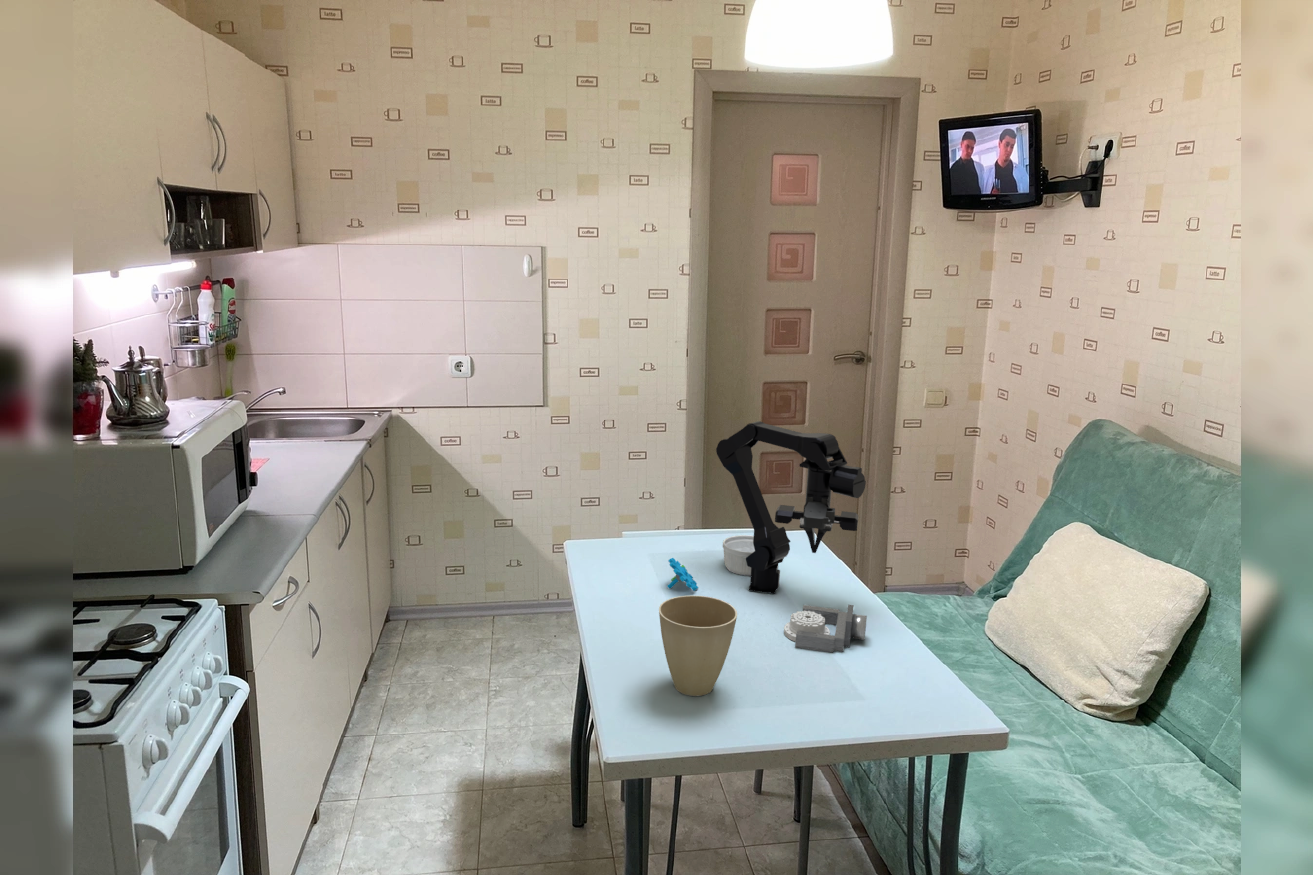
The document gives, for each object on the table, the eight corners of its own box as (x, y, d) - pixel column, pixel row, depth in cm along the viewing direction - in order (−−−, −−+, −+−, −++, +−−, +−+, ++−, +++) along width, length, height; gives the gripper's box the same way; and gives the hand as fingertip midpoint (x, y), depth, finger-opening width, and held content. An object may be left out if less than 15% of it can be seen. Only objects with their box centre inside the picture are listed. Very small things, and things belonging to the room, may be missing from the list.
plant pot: (729, 710, 169) (733, 631, 165) (649, 701, 172) (652, 622, 168) (736, 672, 183) (740, 598, 180) (662, 664, 186) (665, 591, 182)
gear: (699, 591, 218) (671, 561, 218) (681, 607, 219) (653, 577, 219) (700, 580, 229) (673, 550, 229) (683, 595, 230) (656, 566, 230)
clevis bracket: (795, 647, 195) (797, 621, 194) (802, 616, 210) (804, 592, 209) (863, 656, 192) (865, 630, 190) (865, 625, 207) (868, 600, 206)
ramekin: (712, 562, 242) (713, 537, 240) (755, 556, 247) (757, 532, 246) (737, 580, 230) (738, 554, 229) (782, 574, 236) (783, 548, 234)
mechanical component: (781, 642, 198) (828, 648, 196) (782, 623, 197) (829, 629, 195) (786, 623, 207) (830, 628, 205) (787, 605, 206) (832, 610, 204)
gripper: (774, 494, 205) (769, 559, 209) (858, 502, 201) (853, 569, 205) (780, 481, 216) (775, 543, 220) (860, 489, 212) (855, 552, 215)
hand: (814, 552), depth 215 cm, fingers closed
